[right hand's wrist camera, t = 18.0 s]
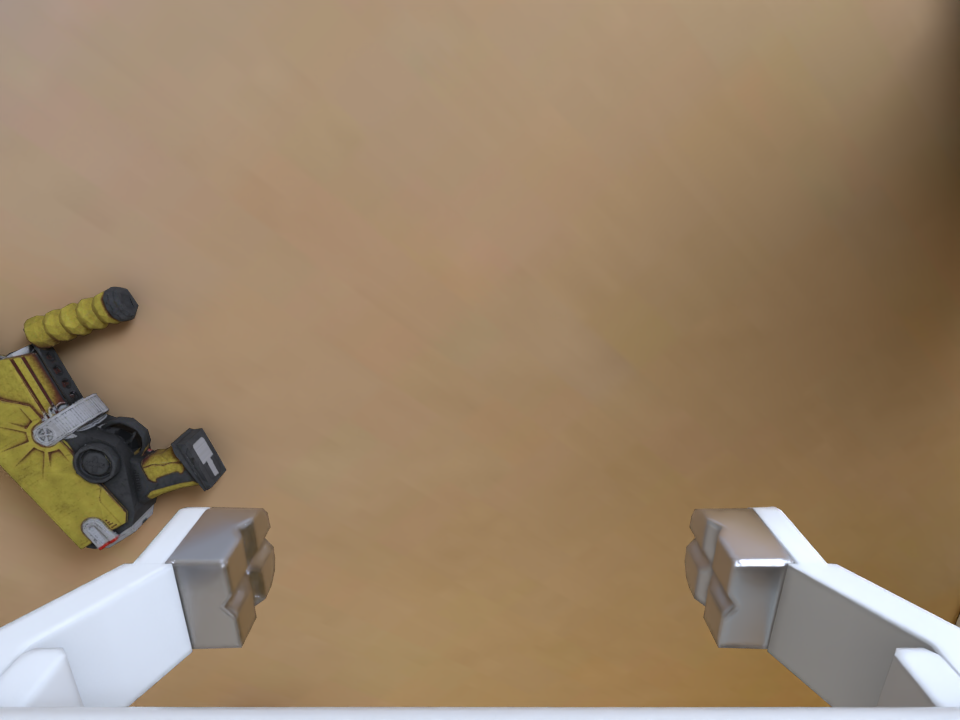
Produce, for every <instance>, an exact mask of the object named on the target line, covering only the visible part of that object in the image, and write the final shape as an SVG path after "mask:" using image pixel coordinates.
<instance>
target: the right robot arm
mask: <svg viewBox="0 0 960 720" xmlns="http://www.w3.org/2000/svg"><path fill="white" fill-rule="evenodd" d="M269 529H270V523H269V518H268V513H267V512H266V511H265V510H264V509H263V508H224V507H212V508H209V507H186V508H183V509H180V510H179V511H178V512H177V513H176V514H175V515H174V516H173V517H172V519H171V520H170V521H169V522H168V523H167V524H166V526H165V527H164V528H163V529H162V530H161V531H160V533H159V534H158V535H157V536H156V537H155V538H154V540H153V541H152V542H151V543H150V544H149V545H148V546H147V548H146V549H145V550H144V551H143V552H142V553H141V555H140V556H139V557H138V558H137V559H136V560H135V562H134V563H133V564H123V565H121V566H119V567H117V568H115V569H113V570H111V571H109V572H107V573H105V574H103V575H101V576H99V577H98V578H96V579H94V580H92V581H90V582H88V583H86V584H84V585H82V586H80V587H78V588H76V589H74V590H72V591H70V592H69V593H67V594H65V595H63V596H61V597H59V598H57V599H55V600H53V601H51V602H49V603H47V604H45V605H43V606H41V607H39V608H38V609H36V610H34V611H32V612H30V613H28V614H26V615H24V616H22V617H20V618H18V619H16V620H14V621H12V622H10V623H9V624H7V625H5V626H3V627H1V628H0V720H960V628H959V627H957V626H955V625H953V624H951V623H949V622H947V621H945V620H943V619H941V618H940V617H938V616H936V615H934V614H932V613H930V612H928V611H926V610H924V609H922V608H920V607H918V606H916V605H914V604H913V603H911V602H909V601H907V600H905V599H903V598H901V597H899V596H897V595H895V594H893V593H891V592H889V591H887V590H886V589H884V588H882V587H880V586H878V585H876V584H874V583H872V582H870V581H868V580H866V579H864V578H862V577H860V576H859V575H857V574H855V573H853V572H851V571H849V570H847V569H845V568H843V567H841V566H839V565H837V564H827V563H826V562H825V560H824V559H823V558H822V557H821V556H820V555H819V554H818V552H817V551H816V550H815V549H814V548H813V547H812V545H811V544H810V543H809V542H808V541H807V540H806V538H805V537H804V536H803V535H802V534H801V533H800V531H799V530H798V529H797V528H796V527H795V526H794V524H793V523H792V522H791V521H790V520H789V519H788V518H787V516H786V515H785V514H784V513H783V512H782V511H781V510H780V509H778V508H776V507H753V508H734V509H695V510H694V512H693V514H692V516H691V522H690V529H691V531H692V532H693V534H694V536H695V539H694V540H693V541H692V542H691V543H690V544H689V545H688V546H687V547H686V555H685V570H686V578H687V581H688V585H689V588H690V590H691V592H692V595H693V597H694V599H696V600H697V601H699V602H700V603H701V604H703V605H704V606H705V611H704V617H703V618H704V620H705V622H706V624H707V626H708V628H709V630H710V632H711V634H712V636H713V638H714V640H715V642H716V644H717V646H718V648H751V649H768V652H769V653H770V654H771V655H772V656H773V657H775V658H776V659H777V660H778V661H779V662H780V663H782V664H783V665H784V666H785V667H786V668H787V669H789V670H790V671H791V672H792V673H793V674H794V675H796V676H797V677H798V678H799V679H800V680H801V681H803V682H804V683H805V684H806V685H807V686H808V687H810V688H811V689H812V690H813V691H814V692H815V693H817V694H818V695H819V696H820V697H821V698H822V699H824V700H825V701H826V702H827V703H828V704H829V705H831V706H832V707H128V706H130V705H131V704H132V703H133V702H134V701H135V700H137V699H138V698H139V697H140V696H141V695H142V694H144V693H145V692H146V691H147V690H148V689H149V688H151V687H152V686H153V685H154V684H155V683H156V682H158V681H159V680H160V679H161V678H162V677H163V676H165V675H166V674H167V673H168V672H169V671H170V670H172V669H173V668H174V667H175V666H176V665H177V664H179V663H180V662H181V661H182V660H183V659H184V658H186V657H187V656H188V655H189V654H190V653H191V652H192V649H208V648H242V646H243V644H244V642H245V640H246V638H247V636H248V634H249V632H250V630H251V628H252V626H253V624H254V622H255V620H256V611H255V606H256V605H257V604H259V603H260V602H261V601H263V600H264V599H266V597H267V595H268V592H269V590H270V588H271V585H272V581H273V576H274V572H275V554H274V547H273V546H272V545H271V544H270V543H269V542H268V541H267V540H266V539H265V536H266V534H267V532H268V531H269Z"/></svg>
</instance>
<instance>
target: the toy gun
mask: <svg viewBox="0 0 960 720" xmlns="http://www.w3.org/2000/svg"><path fill="white" fill-rule="evenodd" d="M137 308H138V304H137V303H136V301H135V300H134V298H133V297H132V295H131V294H130V293H129V291H128V290H127V289H125V288H120V287H110V288H109V289H107V290H106V291H103V292H101V293H100V294H98V295H96V296H95V297H94V298H93V297H92V298H87V299H82V300H81V301H80V302H79V303H78V304H76V303H71V304H69V305H67V306H65V307H64V308H62V309H57V310H52V311H50V312H48V313H46V314H45V316H35V317H32V318H30V319H27V320H26V322H25V323H24V332H25V334H26V338H27V339H28V340H29V341H30V342H31V343H32V344H31V345H28V346H26V347H24V348H22V349H20V350H18V351H15V352H12V353H9V354H8V355H7V356H4V355H0V466H1V467H2V468H3V469H4V470H5V471H6V472H7V473H8V474H9V475H10V476H11V477H12V478H13V479H14V480H15V481H16V482H17V483H18V484H19V485H20V486H21V488H22V489H23V490H24V491H25V492H26V493H27V494H28V495H29V496H30V497H31V498H32V499H33V500H34V501H35V502H36V503H37V504H38V505H39V506H40V507H41V508H42V509H43V510H44V511H45V512H46V513H47V515H48V516H49V517H50V518H51V519H52V520H53V521H54V522H55V523H56V524H57V525H58V526H59V527H60V528H61V529H62V530H63V531H64V532H65V533H66V534H67V535H68V536H69V537H70V538H71V539H72V540H73V542H74V543H75V544H76V545H77V546H78V547H79V548H80V549H83V548H85V547H87V548H92V549H99V550H101V549H103V548H110V547H111V546H113V545H114V544H116V543H118V542H119V541H121V540H122V539H124V538H126V537H127V536H129V535H130V534H132V533H134V532H135V531H136V530H137V529H138V528H139V527H140V526H141V525H142V524H143V523H144V522H145V521H146V520H147V519H148V518H149V517H150V516H151V515H152V514H153V508H154V503H155V502H156V499H157V496H159V495H161V494H164V493H167V492H170V491H173V490H176V489H179V488H183V487H189V486H194V485H200V486H201V488H202V489H203V490H204V491H206V490H208V489H210V488H211V487H212V486H213V485H214V484H215V483H216V482H217V480H218V479H219V478H220V477H221V476H222V475H223V473H224V472H225V471H226V468H225V466H224V465H223V463H222V461H221V459H220V458H219V456H218V454H217V452H216V451H215V449H214V447H213V445H212V444H211V442H210V441H209V439H208V437H207V436H206V434H205V432H204V431H203V429H202V428H201V429H190V428H189V429H188V430H187V431H186V432H184V433H183V434H182V435H181V436H180V437H179V438H178V439H176V440H175V441H174V442H173V443H172V444H171V445H172V446H171V447H169V448H167V449H158V450H156V451H153V450H151V449H150V441H151V439H150V436H149V432H148V429H146V428H145V427H144V426H143V425H141V424H140V423H139V422H138V421H136V420H135V419H134V418H127V417H117V418H116V417H113V416H110V415H108V414H105V413H106V412H108V411H109V409H108V408H107V406H106V405H105V404H104V403H103V402H102V400H101V399H100V398H99V397H98V396H97V394H92V395H90V396H88V397H86V398H83V396H82V395H81V393H80V391H79V390H78V388H77V386H76V385H75V383H74V381H73V380H72V378H71V376H70V375H69V373H68V372H67V370H66V368H65V367H64V365H63V363H62V362H61V360H60V358H59V357H58V355H57V353H56V352H55V350H54V348H53V347H52V346H54V345H57V344H59V343H61V341H66V342H68V341H70V340H72V339H74V338H76V337H77V335H81V336H85V335H87V334H90V333H91V331H92V330H93V329H99V330H101V329H103V328H106V327H107V325H108V324H109V323H113V324H118V323H120V322H121V321H129V320H132V319H134V317H135V315H136V311H137Z"/></svg>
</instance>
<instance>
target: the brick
mask: <svg viewBox="0 0 960 720" xmlns="http://www.w3.org/2000/svg"><path fill="white" fill-rule="evenodd" d="M955 626H957V627H959V628H960V615H959V617H958V620H957V622H956V625H955Z"/></svg>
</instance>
